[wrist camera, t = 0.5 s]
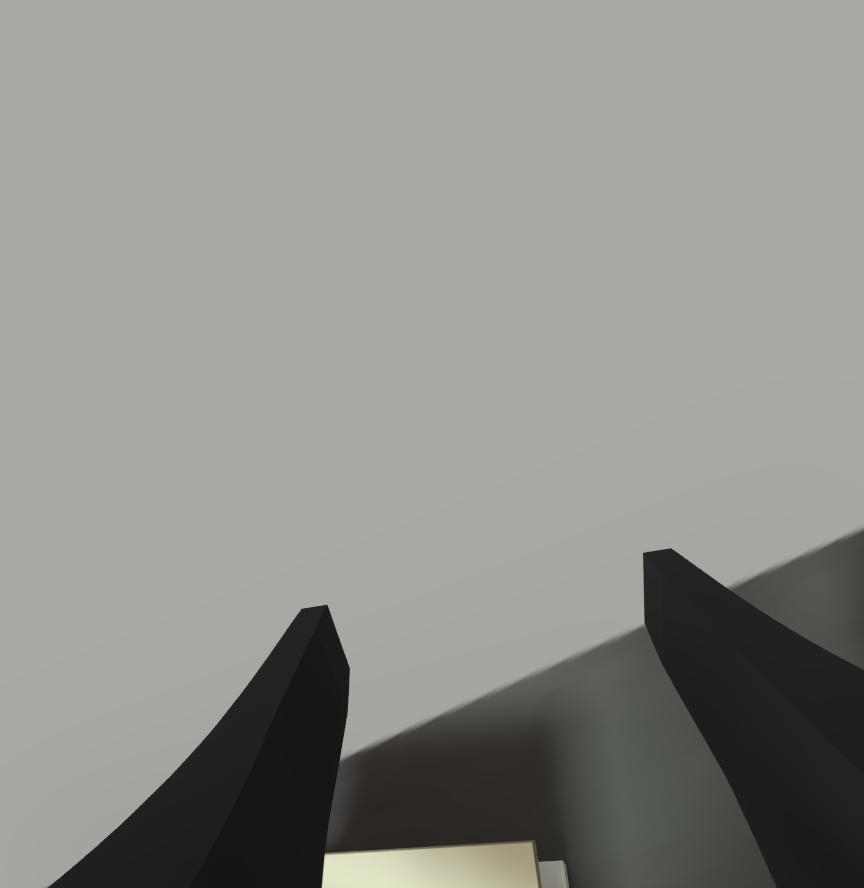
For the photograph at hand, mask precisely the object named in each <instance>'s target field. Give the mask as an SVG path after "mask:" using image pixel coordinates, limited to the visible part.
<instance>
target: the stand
mask: <svg viewBox="0 0 864 888" xmlns="http://www.w3.org/2000/svg"><path fill="white" fill-rule="evenodd" d="M538 863H539V870H540V877H541V884H542V888H569V882H568V875H567V869H566V865H565V863H564V862H563V861H545V862H538Z"/></svg>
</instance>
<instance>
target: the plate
mask: <svg viewBox="0 0 864 888" xmlns="http://www.w3.org/2000/svg"><path fill="white" fill-rule="evenodd" d="M322 888H542V884H541V877H540V870H539V863H538V856H537V849H536V842H535V840H529V841H512V842H496V843H480V844H464V845H448V846H432V847H416V848H400V849H384V850H368V851H351V852H335V853H325V858H324V870H323V881H322Z"/></svg>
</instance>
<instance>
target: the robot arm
mask: <svg viewBox="0 0 864 888" xmlns="http://www.w3.org/2000/svg"><path fill="white" fill-rule="evenodd" d="M643 568H644V615H645V625H646V627H647V629H648V632H649V634H650V637H651V639H652V642H653V644H654V646H655V649H656V651H657V653H658V656H659V658H660V660H661V662H662V665H663V667H664V668H665V670H666V672H667V674H668V676H669V678H670V679H671V681H672V683H673V685H674V686H675V688H676V690H677V692H678V693H679V695H680V697H681V699H682V701H683V702H684V704H685V706H686V707H687V709H688V711H689V713H690V714H691V716H692V718H693V720H694V721H695V723H696V725H697V727H698V728H699V730H700V732H701V734H702V735H703V737H704V739H705V741H706V742H707V744H708V746H709V748H710V749H711V751H712V753H713V755H714V756H715V758H716V760H717V762H718V763H719V765H720V767H721V769H722V771H723V773H724V775H725V776H726V778H727V780H728V782H729V784H730V786H731V788H732V790H733V792H734V794H735V796H736V798H737V801H738V803H739V805H740V807H741V809H742V811H743V814H744V816H745V818H746V820H747V822H748V824H749V827H750V829H751V831H752V833H753V835H754V837H755V840H756V842H757V844H758V846H759V848H760V851H761V853H762V855H763V857H764V860H765V862H766V864H767V866H768V869H769V871H770V873H771V875H772V878H773V880H774V882H775V884H776V887H777V888H864V670H862V669H860V668H859V667H857V666H855V665H853V664H851V663H849V662H847V661H845V660H843V659H841V658H840V657H838V656H836V655H834V654H832V653H830V652H828V651H826V650H825V649H823V648H821V647H819V646H818V645H816V644H814V643H812V642H810V641H809V640H807V639H805V638H804V637H802V636H800V635H799V634H797V633H795V632H794V631H792V630H790V629H789V628H787V627H785V626H784V625H782V624H780V623H779V622H777V621H776V620H774V619H772V618H771V617H769V616H768V615H766V614H765V613H763V612H761V611H760V610H758V609H757V608H755V607H754V606H752V605H751V604H749V603H748V602H746V601H745V600H743V599H742V598H740V597H739V596H737V595H736V594H735V593H733V592H732V591H730V590H729V589H727V588H726V587H724V586H723V585H721V584H720V583H719V582H717V581H716V580H715V579H713V578H712V577H710V576H709V575H708V574H706V573H705V572H703V571H702V570H701V569H699V568H698V567H696V566H695V565H694V564H692V563H691V562H689V561H688V560H687V559H685V558H684V557H683V556H681V555H680V554H678V553H677V552H675V551H674V550H672V549H665V550H658V551H652V552H646V553H643ZM349 676H350V668H349V665H348V662H347V659H346V657H345V653H344V651H343V648H342V645H341V642H340V639H339V636H338V634H337V631H336V628H335V625H334V622H333V620H332V617H331V614H330V611H329V608H328V605H323V606H317V607H310V608H304V609H301V611H300V612H299V613H298V615H297V616H296V618H295V619H294V620H293V622H292V623H291V625H290V626H289V628H288V629H287V630H286V632H285V633H284V635H283V636H282V638H281V639H280V640H279V642H278V643H277V645H276V646H275V648H274V649H273V650H272V652H271V654H270V655H269V656H268V658H267V659H266V660H265V662H264V663H263V665H262V666H261V667H260V669H259V670H258V672H257V673H256V674H255V676H254V677H253V678H252V680H251V681H250V682H249V684H248V685H247V687H246V688H245V689H244V691H243V692H242V693H241V695H240V696H239V697H238V698H237V700H236V701H235V702H234V703H233V705H232V706H231V707H230V709H229V710H228V711H227V712H226V714H225V715H224V716H223V717H222V719H221V720H220V721H219V722H218V724H217V725H216V726H215V727H214V728H213V730H212V731H211V732H210V733H209V734H208V736H207V737H206V738H205V739H204V740H203V741H202V743H201V744H200V745H199V746H198V747H197V748H196V749H195V750H194V751H193V753H192V754H191V755H190V756H189V757H188V758H187V759H186V760H185V761H184V762H183V763H182V765H181V766H180V767H179V768H178V769H177V770H176V771H175V772H174V773H173V774H172V775H171V776H170V777H169V778H168V779H167V780H166V781H165V782H164V783H163V784H162V785H161V786H160V787H159V788H158V789H157V790H156V791H155V792H154V793H153V794H152V795H151V796H150V797H149V798H148V799H147V800H146V801H145V802H144V803H143V804H142V805H141V806H140V807H139V808H138V809H137V810H136V811H135V812H134V813H133V814H131V815H130V817H128V818H127V819H126V820H125V821H124V822H123V823H122V824H121V825H120V826H119V827H118V828H117V829H115V830H114V831H113V832H112V833H111V834H110V835H109V836H108V837H107V838H106V839H104V840H103V841H102V842H101V843H100V844H99V845H98V846H97V847H96V848H94V849H93V850H92V851H91V852H90V853H88V854H87V855H86V856H85V857H84V858H83V859H82V860H80V861H79V862H78V863H77V864H76V865H75V866H73V867H72V868H71V869H70V870H69V871H68V872H66V873H65V874H64V875H63V876H61V877H60V878H59V879H58V880H57V881H55V882H54V883H53V884H52V885H51V886H49V887H48V888H322V881H323V870H324V858H325V847H326V839H327V831H328V824H329V818H330V812H331V806H332V800H333V795H334V789H335V783H336V778H337V772H338V766H339V761H340V755H341V748H342V743H343V737H344V731H345V725H346V719H347V712H348V696H349Z"/></svg>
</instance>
